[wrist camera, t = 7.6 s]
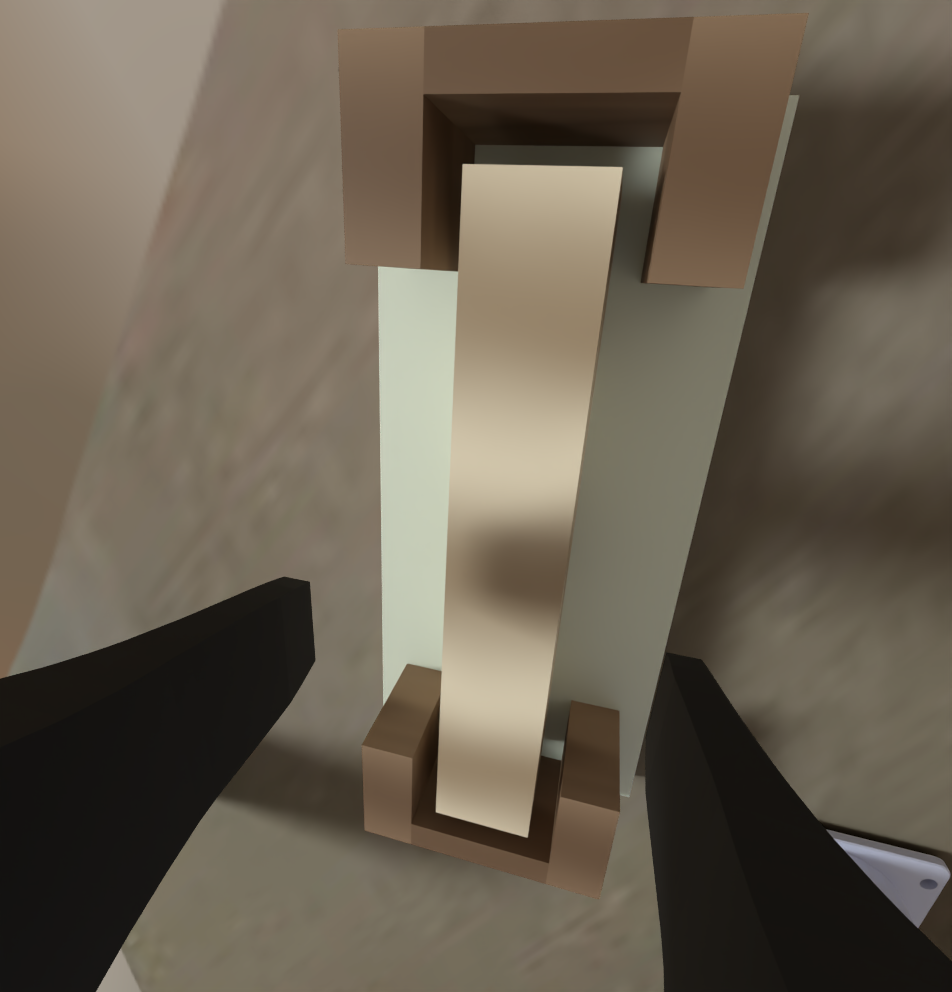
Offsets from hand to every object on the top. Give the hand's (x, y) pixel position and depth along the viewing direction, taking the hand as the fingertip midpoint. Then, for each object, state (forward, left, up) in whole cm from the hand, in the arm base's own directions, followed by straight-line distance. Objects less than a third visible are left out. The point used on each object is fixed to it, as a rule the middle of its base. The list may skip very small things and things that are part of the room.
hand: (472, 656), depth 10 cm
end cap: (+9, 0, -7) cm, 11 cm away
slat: (0, 0, -7) cm, 7 cm away
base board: (0, 0, -8) cm, 8 cm away
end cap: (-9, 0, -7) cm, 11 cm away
